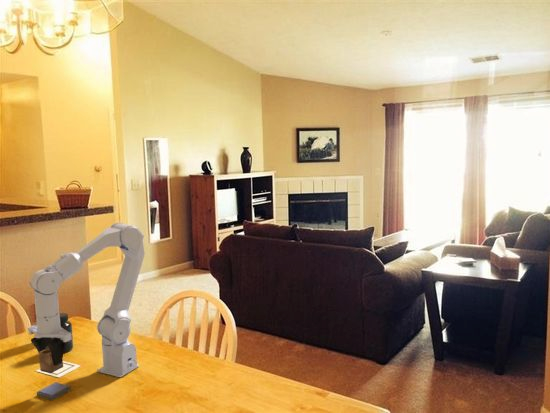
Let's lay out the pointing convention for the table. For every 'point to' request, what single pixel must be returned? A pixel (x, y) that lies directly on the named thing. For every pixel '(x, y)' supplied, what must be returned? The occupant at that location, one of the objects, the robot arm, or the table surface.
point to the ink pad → (53, 391)
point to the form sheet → (62, 369)
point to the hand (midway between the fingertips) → (52, 362)
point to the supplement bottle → (68, 327)
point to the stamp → (48, 361)
